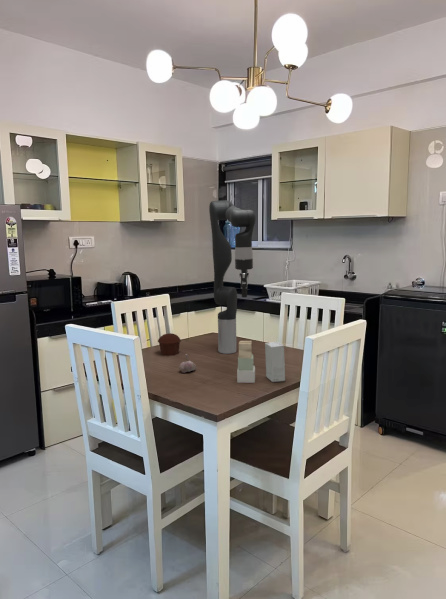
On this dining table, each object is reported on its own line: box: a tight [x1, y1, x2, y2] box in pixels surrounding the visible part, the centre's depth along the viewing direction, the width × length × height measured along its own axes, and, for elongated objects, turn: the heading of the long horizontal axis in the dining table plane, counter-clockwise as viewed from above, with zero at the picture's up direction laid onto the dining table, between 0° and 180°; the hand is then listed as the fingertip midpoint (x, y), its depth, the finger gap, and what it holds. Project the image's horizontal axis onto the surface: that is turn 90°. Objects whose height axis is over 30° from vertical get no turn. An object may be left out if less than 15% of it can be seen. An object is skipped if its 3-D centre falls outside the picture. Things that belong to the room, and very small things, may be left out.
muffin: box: [157, 332, 182, 357], centre depth 229 cm, size 12×11×10 cm
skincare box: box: [264, 341, 286, 383], centre depth 186 cm, size 8×6×15 cm
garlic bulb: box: [178, 353, 197, 374], centre depth 199 cm, size 8×7×8 cm
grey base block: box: [236, 365, 256, 384], centre depth 186 cm, size 7×7×5 cm
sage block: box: [237, 354, 255, 371], centre depth 186 cm, size 6×6×5 cm
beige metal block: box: [238, 340, 253, 358], centre depth 185 cm, size 5×5×6 cm
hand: (244, 295), depth 195 cm, fingers open, 8 cm apart
